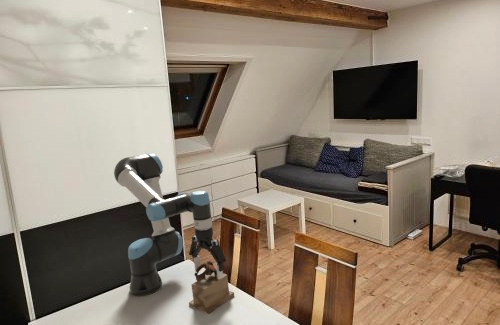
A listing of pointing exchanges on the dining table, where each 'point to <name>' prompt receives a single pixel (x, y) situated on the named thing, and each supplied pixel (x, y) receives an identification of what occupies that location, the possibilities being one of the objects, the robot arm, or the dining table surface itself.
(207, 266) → the broken clay pot
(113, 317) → the dining table surface
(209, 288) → the stand
